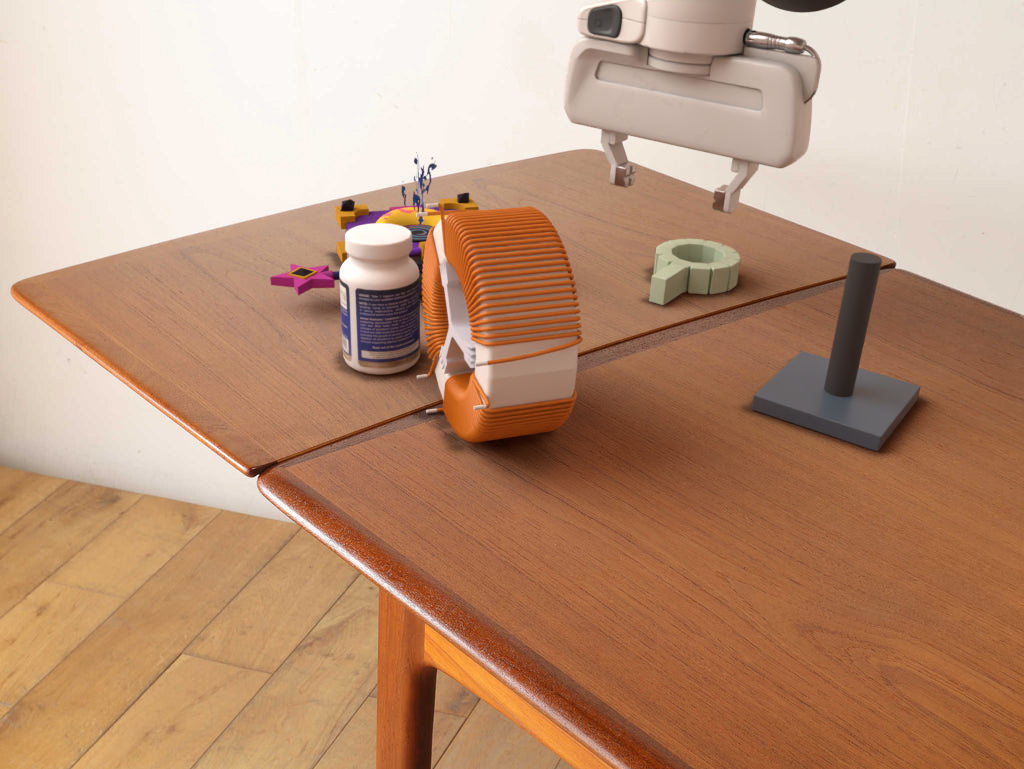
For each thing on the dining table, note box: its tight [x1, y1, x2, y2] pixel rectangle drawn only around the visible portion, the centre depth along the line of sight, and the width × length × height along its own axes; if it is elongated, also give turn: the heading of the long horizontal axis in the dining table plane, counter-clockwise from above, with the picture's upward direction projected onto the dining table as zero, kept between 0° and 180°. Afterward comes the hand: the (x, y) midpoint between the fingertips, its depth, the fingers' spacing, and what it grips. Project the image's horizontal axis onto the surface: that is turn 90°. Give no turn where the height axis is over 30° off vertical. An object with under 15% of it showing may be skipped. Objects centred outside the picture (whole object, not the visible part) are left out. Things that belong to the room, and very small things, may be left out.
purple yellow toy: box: [269, 151, 480, 298], centre depth 90 cm, size 14×25×12 cm, turn 108°
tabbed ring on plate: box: [648, 238, 741, 306], centre depth 93 cm, size 7×11×2 cm
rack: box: [751, 251, 922, 452], centre depth 72 cm, size 9×9×11 cm
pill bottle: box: [338, 223, 421, 375], centre depth 76 cm, size 6×6×10 cm
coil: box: [416, 202, 584, 444], centre depth 67 cm, size 7×15×15 cm, turn 20°
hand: (671, 197), depth 86 cm, fingers open, 8 cm apart
